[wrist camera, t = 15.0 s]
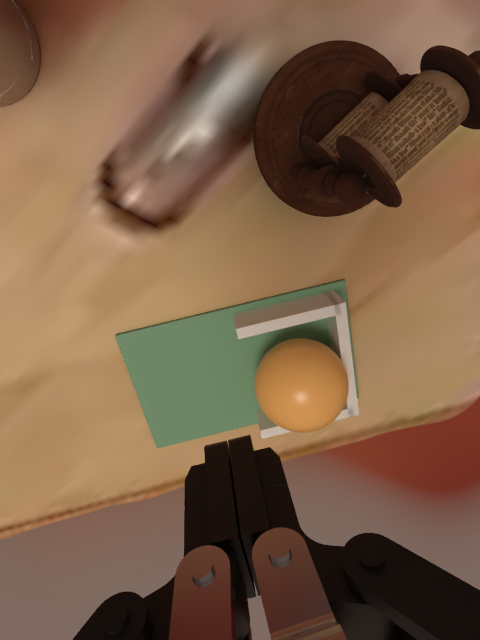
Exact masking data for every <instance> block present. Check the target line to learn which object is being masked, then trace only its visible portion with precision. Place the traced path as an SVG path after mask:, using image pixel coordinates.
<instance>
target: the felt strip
mask: <svg viewBox="0 0 480 640" xmlns="http://www.w3.org/2000/svg"><path fill="white" fill-rule="evenodd" d="M331 290H334V291H335V292H336V293H337V294H338V295H339V296H340V297H341V298H342V299H343V300H344V301H345V302H346V310H347V318H348V326H349V335H350V343H351V352H352V360H353V368H354V377H355V385H356V393H357V399H358V398H359V397H358V389H357V380H356V372H355V363H354V355H353V346H352V338H351V329H350V321H349V312H348V304H347V295H346V287H345V280H344V279H342V280H338V281H334V282H330V283H326V284H322V285H317V286H313V287H309V288H305V289H301V290H297V291H293V292H288V293H284V294H280V295H276V296H272V297H268V298H264V299H260V300H255V301H251V302H247V303H243V304H239V305H235V306H231V307H227V308H222V309H218V310H214V311H210V312H206V313H202V314H198V315H194V316H189V317H185V318H181V319H177V320H173V321H169V322H165V323H161V324H156V325H152V326H148V327H144V328H140V329H136V330H132V331H128V332H123V333H119V334H116V335H115V337H116V339H117V342H118V345H119V347H120V350H121V353H122V355H123V358H124V361H125V363H126V366H127V369H128V371H129V374H130V377H131V379H132V382H133V385H134V387H135V390H136V393H137V395H138V398H139V401H140V403H141V406H142V409H143V411H144V414H145V417H146V419H147V422H148V425H149V427H150V430H151V433H152V435H153V438H154V441H155V443H156V446H157V448H160V447H164V446H168V445H172V444H176V443H180V442H184V441H188V440H193V439H197V438H201V437H205V436H209V435H213V434H217V433H221V432H225V431H229V430H233V429H237V428H241V427H245V426H249V425H253V424H257V423H258V419H257V415H256V411H255V410H259V409H261V407H260V406H259V404H258V401H257V398H256V394H255V386H254V383H255V375H256V370H257V368H258V366H259V363H260V361H261V360H262V358H263V357H264V355H265V354H266V353H267V352H268V351H269V350H270V349H271V348H273V347H274V346H276V345H277V344H279V343H281V342H283V341H286V340H290V339H295V338H306V339H312V340H315V341H318V342H320V343H323V344H324V345H326V346H328V347H329V348H330V349H331V346H330V339H329V332H328V324H327V318H324V319H320V320H316V321H311V322H307V323H303V324H299V325H295V326H291V327H287V328H283V329H279V330H275V331H270V332H266V333H262V334H258V335H254V336H250V337H246V338H242V339H238V336H237V332H236V328H235V324H234V320H233V316H232V314H236V313H240V312H244V311H248V310H252V309H257V308H261V307H265V306H269V305H273V304H277V303H281V302H285V301H290V300H294V299H298V298H302V297H306V296H310V295H314V294H318V293H323V292H327V291H331Z"/></svg>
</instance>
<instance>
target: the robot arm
mask: <svg viewBox="0 0 480 640" xmlns="http://www.w3.org/2000/svg"><path fill="white" fill-rule="evenodd" d="M39 64H40V52H39V44H38V40H37V36H36V33H35V30H34V28H33V26H32V24H31V21H30V19H29V18H28V16H27V15H26V13H25V12H24V10H23V9H22V7H21V6H20V5H19V4H18V3H17V2H16V1H15V0H0V107H2V106H6V105H11V104H13V103H15V102H17V101H19V100H20V99H21V98H23V97H24V96H25V95H26V94H27V93H28V92H29V90H30V89H31V88H32V86H33V85H34V83H35V80H36V77H37V75H38V71H39ZM228 443H229V446H228ZM228 443H227V441H223V442H219V443H215V444H211V445H206V446H205V447H204V451H205V463H203V464H199V465H195V466H191V468H190V470H189V473H188V475H187V477H186V479H185V519H184V523H185V524H184V558H183V559H182V560H181V562H180V563H179V565H178V567H177V570H176V574H175V576H174V577H173V578H172V579H171V580H170V581H169V582H168V583H167V584H166V585H164V586H163V587H161V588H160V589H158V590H156V591H155V592H153V593H152V594H150V595H148V596H146V597H145V598H143V599H142V597H141V596H139V595H138V594H136V593H133V592H121V593H118V594H115V595H113V596H112V597H110V598H108V599H107V600H106V601H104V602H103V603H102V604H101V605H100V606H99V607H98V608H97V610H96V611H95V612H94V613H93V615H92V616H91V617H90V618H89V620H88V621H87V622H86V624H85V625H84V626H83V627H82V628H81V630H80V631H79V632H78V634H77V635H76V636H75V637H74V639H73V640H252V633H251V627H250V616H249V608H248V600H247V599H248V598H252V597H256V593H255V586H254V582H255V585H256V589H257V592H258V596H259V595H261V598H262V603H263V607H264V611H265V615H266V619H267V623H268V628H269V632H270V636H271V640H480V590H478V589H477V588H474V587H473V586H471V585H469V584H468V583H466V582H464V581H462V580H461V579H459V578H457V577H455V576H454V575H452V574H450V573H448V572H447V571H445V570H443V569H441V568H440V567H438V566H436V565H434V564H432V563H430V562H429V561H427V560H425V559H424V558H422V557H420V556H418V555H417V554H415V553H413V552H411V551H409V550H408V549H406V548H404V547H402V546H401V545H399V544H397V543H395V542H394V541H392V540H390V539H388V538H386V537H384V536H382V535H379V534H374V533H363V534H359V535H356V536H354V537H353V538H351V539H350V540H349V541H348V542H347V543H346V545H345V546H344V547H343V546H329V545H323V544H319V543H317V542H315V541H313V540H312V539H310V538H309V537H307V536H306V535H305V534H304V532H303V531H302V529H301V528H300V525H299V522H298V519H297V515H296V512H295V508H294V505H293V502H292V498H291V495H290V491H289V488H288V485H287V481H286V478H285V474H284V471H283V468H282V464H281V460H280V457H279V456H278V455H277V454H276V453H275V452H274V451H273V450H272V449H271V448H270V447H269V448H265V449H260V450H256V451H254V449H253V444H252V440H251V436H250V435H247V436H243V437H239V438H235V439H231V440H228ZM253 579H254V580H253Z"/></svg>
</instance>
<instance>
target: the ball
mask: <svg viewBox="0 0 480 640" xmlns="http://www.w3.org/2000/svg"><path fill="white" fill-rule="evenodd" d="M254 386H255V394H256V398H257V401H258V404H259V406H260V407H261V409H262V411H263V412H264V414H265V415H266V416H267V417H268V418H269V419H270V420H271V421H272V422H273V423H275V424H276V425H278V426H279V427H281V428H283V429H286V430H289V431H292V432H300V433H304V432H313V431H317V430H319V429H322V428H324V427H326V426H327V425H329V424H330V423H332V422H333V421H334V420H335V419H336V418H337V417H338V416H339V414H340V413H341V411H342V410H343V408H344V406H345V404H346V401H347V397H348V391H349V382H348V375H347V372H346V369H345V367H344V364H343V363H342V361H341V359H340V358H339V357H338V356H337V354H336V353H335V352H334V351H333V350H332V349H330V348H329V347H328V346H326V345H324V344H323V343H320V342H318V341H315V340H312V339H306V338H295V339H290V340H286V341H283V342H281V343H279V344H277V345H276V346H274V347H273V348H271V349H270V350H269V351H268V352H267V353H266V354H265V355H264V357H263V358H262V360H261V361H260V363H259V366H258V368H257V370H256V375H255V383H254Z"/></svg>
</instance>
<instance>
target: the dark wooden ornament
mask: <svg viewBox="0 0 480 640" xmlns="http://www.w3.org/2000/svg"><path fill="white" fill-rule="evenodd" d="M420 69H421V73H420V74H413V75H408V74H404V75H399V73H398V72H397V70H396V69H395V68H394V66H393V65H392V64H391V63H390V62H389V61H388V60H387V59H386V58H385V57H384V56H383V55H381V54H380V53H379V52H377V51H376V50H374V49H372V48H370V47H368V46H366V45H363V44H360V43H356V42H352V41H328V42H324V43H320V44H317V45H314V46H311V47H309V48H307V49H305V50H303V51H302V52H300V53H299V54H297V55H296V56H294V57H293V58H292V59H290V60H289V61H288V62H287V63H286V64H284V65H283V66H282V67H281V68H280V69H279V71H278V72H277V73H276V74H275V75H274V77H273V78H272V79H271V81H270V82H269V84H268V86H267V87H266V89H265V91H264V93H263V95H262V97H261V100H260V103H259V105H258V109H257V112H256V117H255V122H254V150H255V156H256V160H257V163H258V166H259V169H260V171H261V174H262V176H263V178H264V180H265V181H266V183H267V184H268V186H269V187H270V188H271V190H272V191H273V192H274V193H275V194H276V195H277V196H278V197H279V198H280V199H281V200H282V201H283V202H285V203H286V204H288V205H289V206H291V207H293V208H295V209H296V210H298V211H301V212H303V213H306V214H310V215H314V216H323V217H331V216H340V215H344V214H348V213H351V212H353V211H356V210H358V209H360V208H362V207H364V206H366V205H367V204H369V203H370V202H372V201H373V200H374V199H376V200H378V201H379V202H381V203H382V204H384V205H386V206H388V207H395V208H396V207H399V206H400V205H401V202H402V199H401V195H400V192H399V190H398V188H397V186H396V184H395V182H396V181H397V180H398V179H400V178H401V177H402V176H403V175H404V174H405V173H406V172H407V171H409V170H410V169H411V168H412V167H413V166H414V165H415V164H416V163H417V162H419V161H420V160H421V159H422V158H423V157H424V156H425V155H426V154H428V153H429V152H430V151H431V150H432V149H433V148H434V147H435V146H437V145H438V144H439V143H440V142H441V141H442V140H443V139H444V138H445V137H447V136H448V135H449V134H450V133H451V132H452V131H453V130H454V129H456V128H457V127H458V126H459V125H462V126H464V127H467V128H471V129H480V50H479V51H475V52H473V53H472V54H470V55H469V56H467V55H466V54H464V53H463V52H461V51H459V50H457V49H454V48H451V47H447V46H434V47H431V48H430V49H428V50H427V51H426V52H425V53H424V55H423V56H422V59H421V64H420Z"/></svg>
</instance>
